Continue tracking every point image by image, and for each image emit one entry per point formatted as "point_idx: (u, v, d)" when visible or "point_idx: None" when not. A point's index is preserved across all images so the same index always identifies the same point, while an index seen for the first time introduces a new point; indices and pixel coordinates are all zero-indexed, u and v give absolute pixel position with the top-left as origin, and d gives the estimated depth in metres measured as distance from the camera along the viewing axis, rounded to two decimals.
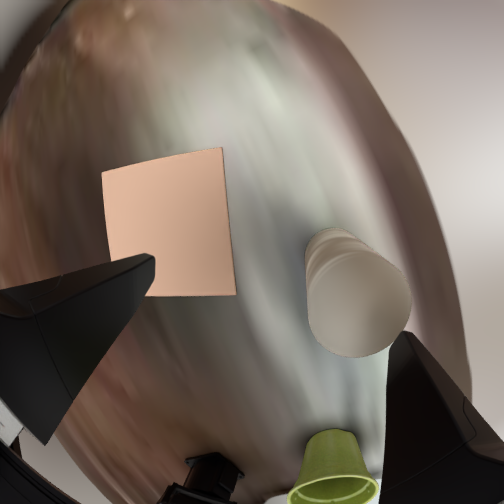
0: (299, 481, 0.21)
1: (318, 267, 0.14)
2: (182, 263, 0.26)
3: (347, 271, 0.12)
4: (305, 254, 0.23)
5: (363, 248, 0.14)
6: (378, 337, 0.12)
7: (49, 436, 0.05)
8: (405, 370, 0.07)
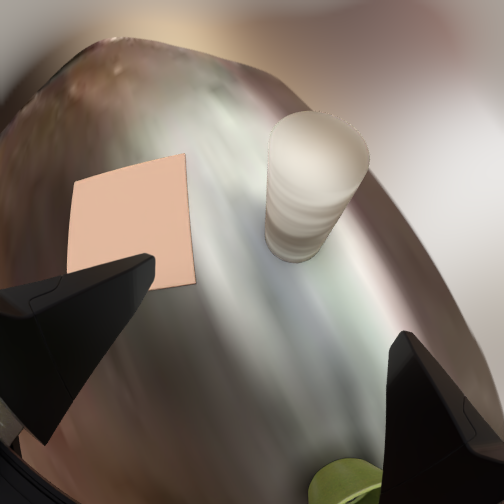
0: None
1: None
2: None
3: (297, 119, 0.13)
4: None
5: None
6: (347, 170, 0.12)
7: (49, 436, 0.05)
8: (405, 370, 0.07)
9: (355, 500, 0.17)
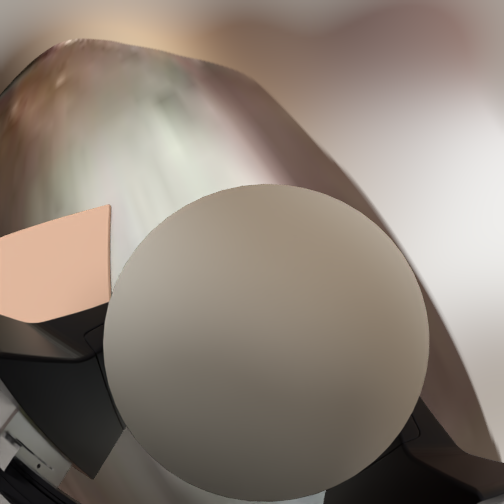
0: None
1: None
2: None
3: (203, 227, 0.04)
4: None
5: None
6: (348, 432, 0.03)
7: (98, 469, 0.05)
8: None
9: None
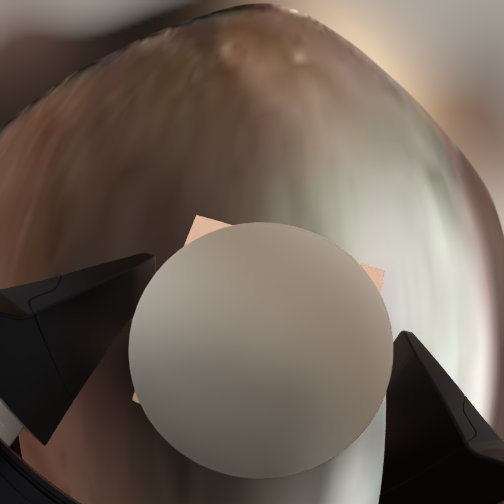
0: None
1: None
2: None
3: (207, 259, 0.05)
4: None
5: None
6: (323, 424, 0.04)
7: (49, 436, 0.05)
8: (405, 370, 0.07)
9: None
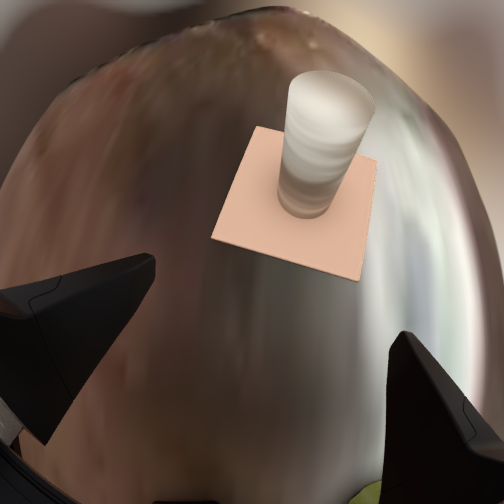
0: None
1: None
2: (314, 232, 0.24)
3: (311, 75, 0.14)
4: (278, 182, 0.24)
5: None
6: (356, 113, 0.13)
7: (49, 436, 0.05)
8: (405, 370, 0.07)
9: None
